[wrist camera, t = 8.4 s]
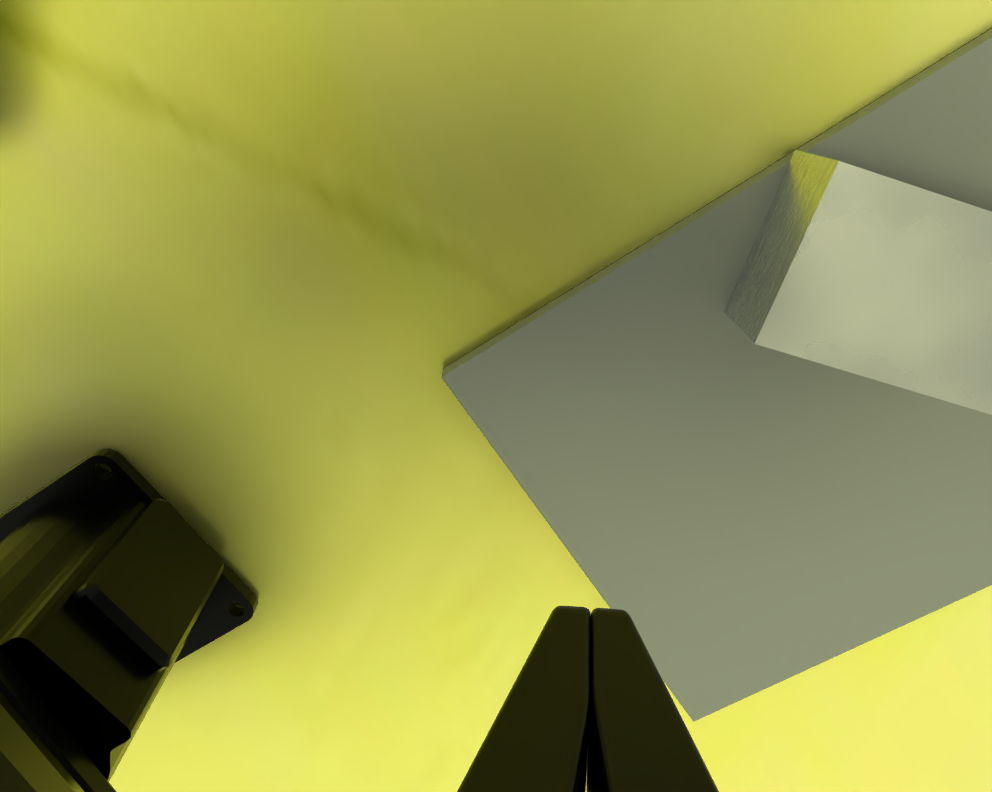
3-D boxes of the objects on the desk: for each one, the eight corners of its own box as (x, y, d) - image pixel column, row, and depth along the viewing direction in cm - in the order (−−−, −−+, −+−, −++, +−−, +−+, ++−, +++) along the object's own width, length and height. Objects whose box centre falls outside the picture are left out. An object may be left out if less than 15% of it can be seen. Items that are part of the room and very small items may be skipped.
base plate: (689, 707, 24) (714, 790, 22) (442, 369, 20) (433, 418, 17) (1278, 433, 21) (1403, 491, 18) (1140, -64, 16) (1279, -94, 13)
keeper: (1038, 230, 18) (1114, 252, 16) (951, 380, 19) (1009, 420, 17) (795, 149, 17) (838, 160, 15) (724, 312, 19) (754, 343, 16)
